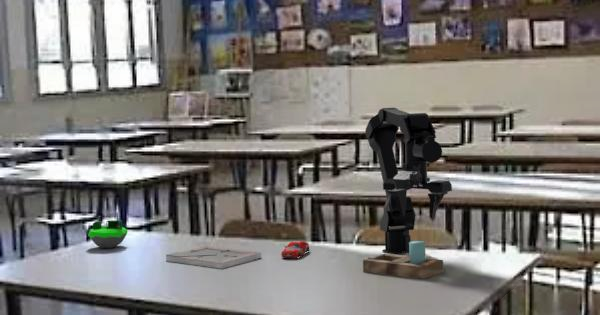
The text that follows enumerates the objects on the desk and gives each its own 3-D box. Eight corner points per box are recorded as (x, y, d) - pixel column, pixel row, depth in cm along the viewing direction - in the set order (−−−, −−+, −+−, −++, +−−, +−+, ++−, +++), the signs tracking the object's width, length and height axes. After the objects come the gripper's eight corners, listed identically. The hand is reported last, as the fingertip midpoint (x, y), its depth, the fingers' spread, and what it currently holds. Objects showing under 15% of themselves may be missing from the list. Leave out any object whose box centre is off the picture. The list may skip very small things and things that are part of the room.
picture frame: (166, 263, 270) (221, 271, 257) (165, 254, 270) (221, 262, 257) (206, 253, 283) (261, 260, 270) (206, 245, 283) (261, 251, 269)
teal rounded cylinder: (406, 273, 242) (406, 243, 242) (415, 271, 245) (414, 240, 245) (420, 275, 240) (419, 244, 239) (428, 272, 243) (427, 241, 242)
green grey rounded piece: (131, 244, 300) (130, 209, 299) (121, 250, 288) (120, 214, 287) (95, 244, 301) (93, 210, 300) (82, 250, 289) (81, 215, 289)
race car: (297, 261, 265) (296, 247, 265) (278, 260, 267) (278, 246, 267) (312, 251, 277) (311, 238, 277) (295, 251, 279) (294, 237, 279)
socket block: (363, 271, 247) (362, 258, 247) (384, 264, 255) (384, 252, 255) (422, 278, 236) (422, 265, 236) (443, 271, 244) (442, 258, 243)
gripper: (370, 161, 256) (372, 218, 257) (430, 163, 244) (431, 223, 246) (393, 157, 265) (394, 213, 266) (452, 159, 253) (453, 217, 254)
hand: (417, 216), depth 258 cm, fingers open, 9 cm apart
